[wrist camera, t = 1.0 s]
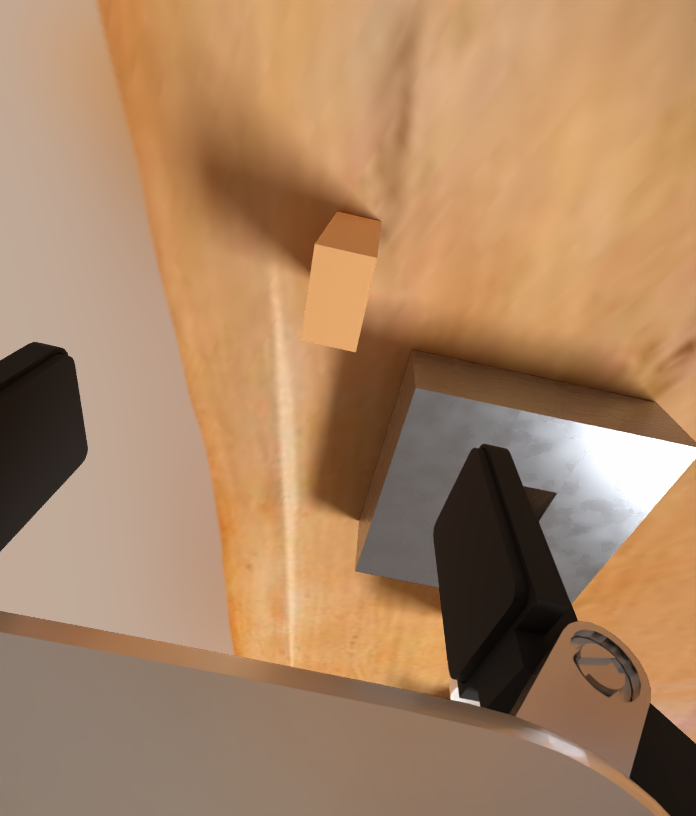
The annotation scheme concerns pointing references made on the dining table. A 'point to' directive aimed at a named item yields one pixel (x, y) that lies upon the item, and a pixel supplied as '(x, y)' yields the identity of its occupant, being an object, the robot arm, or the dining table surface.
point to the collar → (517, 464)
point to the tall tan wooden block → (341, 281)
